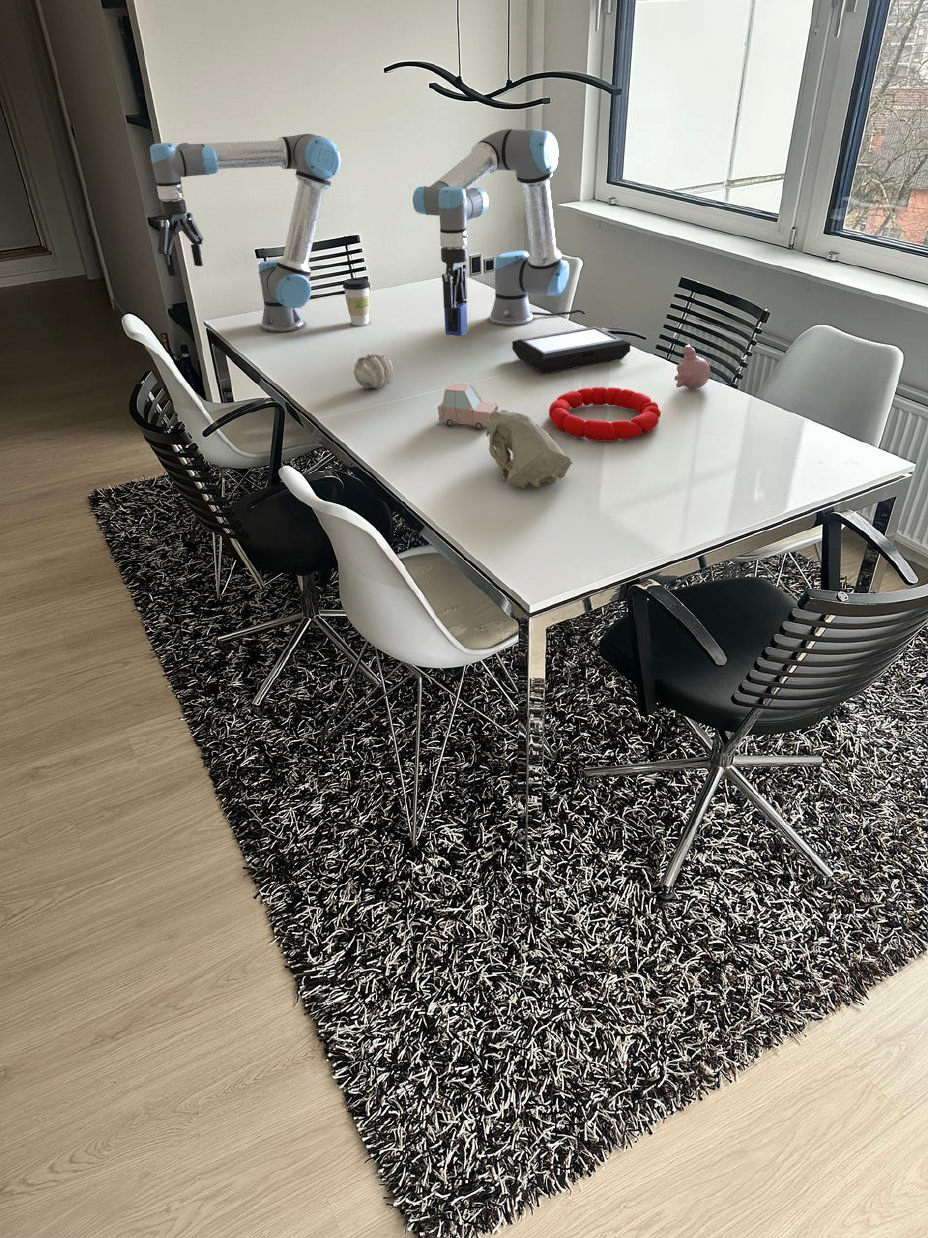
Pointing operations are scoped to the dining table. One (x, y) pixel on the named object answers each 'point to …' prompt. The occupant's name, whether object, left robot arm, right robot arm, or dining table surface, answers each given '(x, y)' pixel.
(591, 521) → the dining table surface
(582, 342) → the electronic device
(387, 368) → the seashell
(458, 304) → the brick
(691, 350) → the figurine
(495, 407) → the toy car
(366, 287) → the coffee cup
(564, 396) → the decorative ring
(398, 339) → the dining table surface
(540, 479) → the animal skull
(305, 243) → the left robot arm
